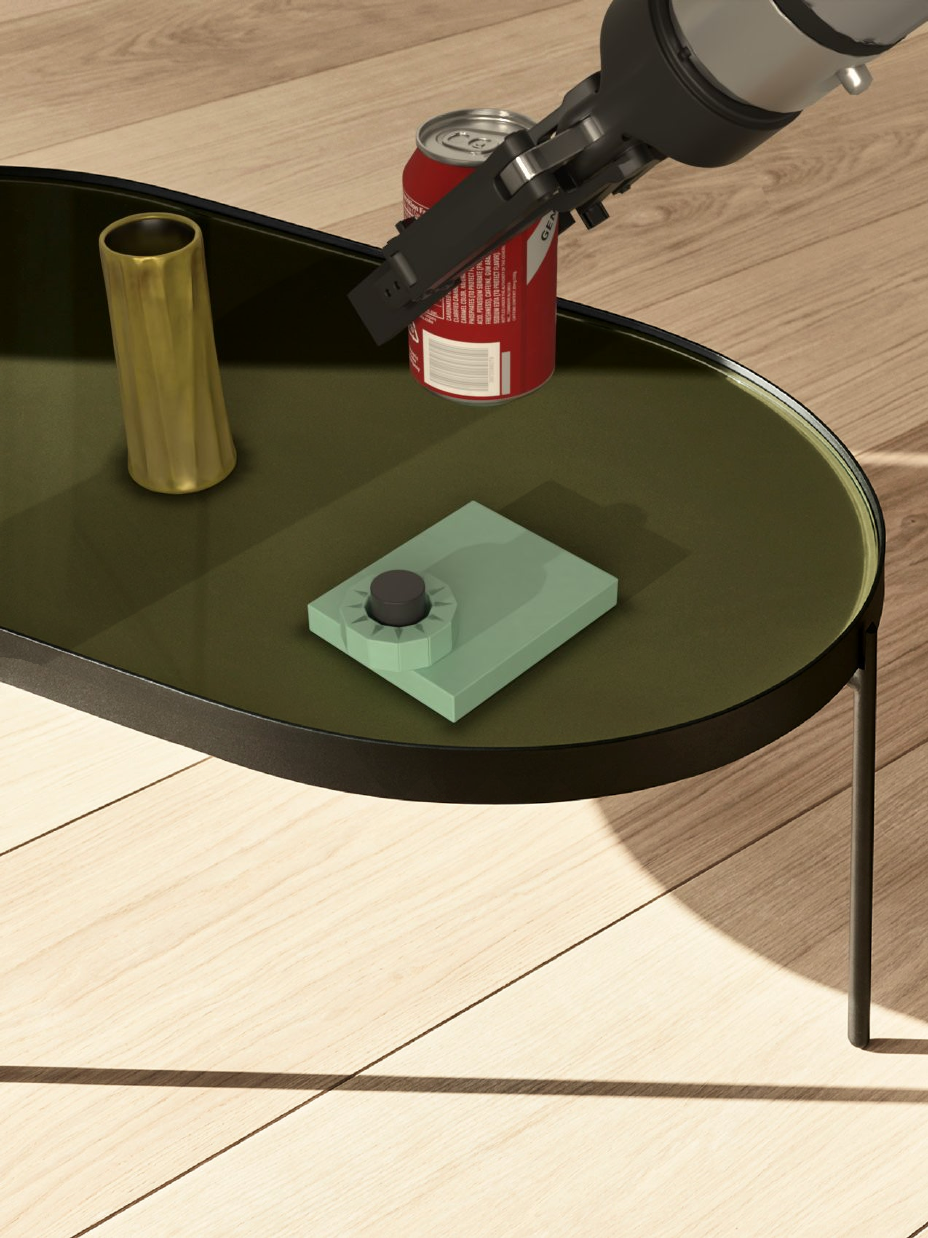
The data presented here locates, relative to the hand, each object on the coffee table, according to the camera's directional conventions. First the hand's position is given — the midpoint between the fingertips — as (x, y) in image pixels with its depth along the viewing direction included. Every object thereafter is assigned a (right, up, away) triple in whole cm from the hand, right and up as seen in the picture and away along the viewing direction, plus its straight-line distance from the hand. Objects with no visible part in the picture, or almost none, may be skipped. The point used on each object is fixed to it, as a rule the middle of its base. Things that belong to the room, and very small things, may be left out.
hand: (426, 287), depth 78 cm
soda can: (+3, -4, 0) cm, 5 cm away
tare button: (-1, -15, +2) cm, 15 cm away
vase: (-14, -7, +17) cm, 23 cm away
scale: (+2, -15, +6) cm, 17 cm away
